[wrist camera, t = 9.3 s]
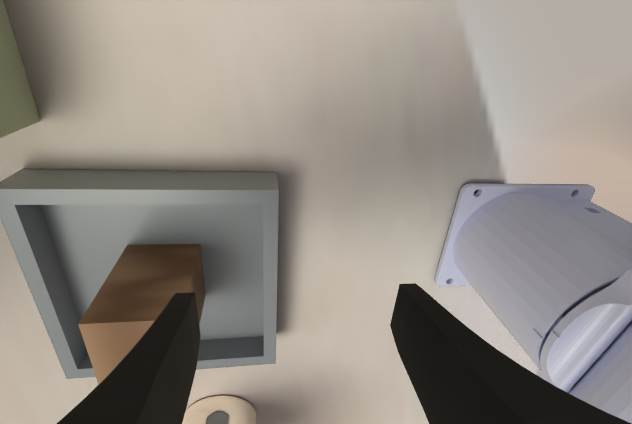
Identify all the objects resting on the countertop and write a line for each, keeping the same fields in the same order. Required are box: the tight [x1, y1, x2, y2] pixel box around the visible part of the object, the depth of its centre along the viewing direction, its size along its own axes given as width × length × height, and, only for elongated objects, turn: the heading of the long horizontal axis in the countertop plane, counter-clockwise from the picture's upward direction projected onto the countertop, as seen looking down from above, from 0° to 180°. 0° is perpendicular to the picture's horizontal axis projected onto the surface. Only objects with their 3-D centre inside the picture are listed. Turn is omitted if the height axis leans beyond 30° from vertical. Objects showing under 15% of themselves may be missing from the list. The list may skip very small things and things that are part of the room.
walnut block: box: [78, 244, 205, 384], centre depth 18 cm, size 4×4×6 cm
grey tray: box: [0, 169, 279, 379], centre depth 20 cm, size 13×13×2 cm
